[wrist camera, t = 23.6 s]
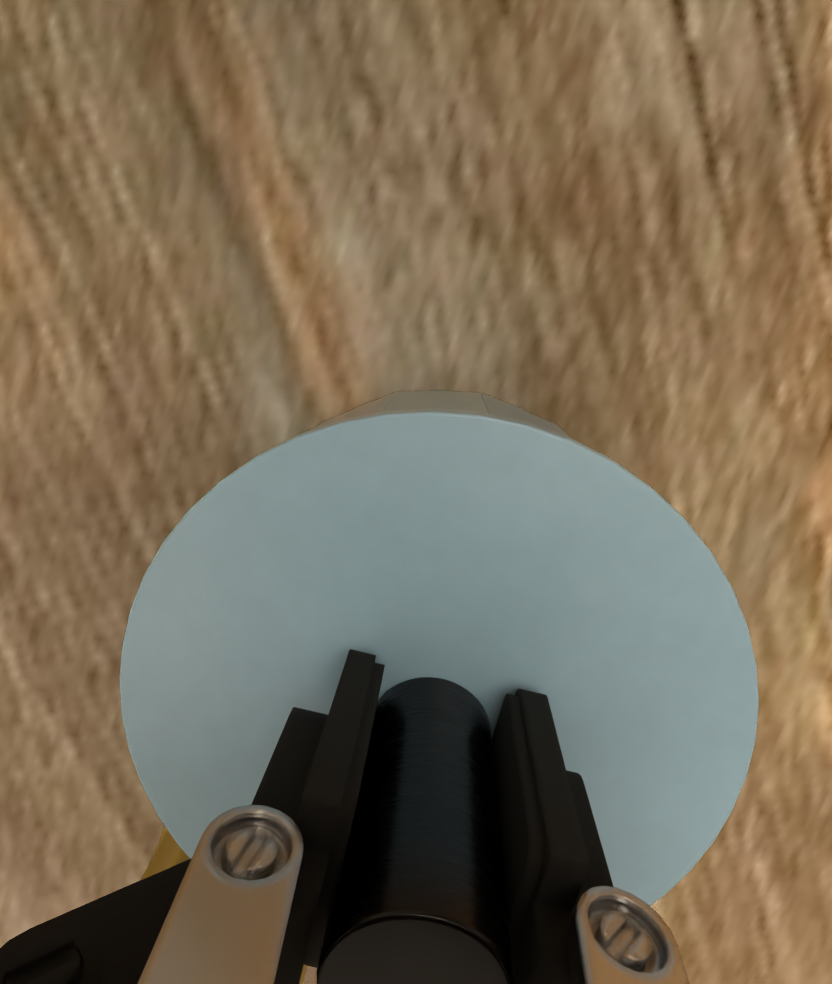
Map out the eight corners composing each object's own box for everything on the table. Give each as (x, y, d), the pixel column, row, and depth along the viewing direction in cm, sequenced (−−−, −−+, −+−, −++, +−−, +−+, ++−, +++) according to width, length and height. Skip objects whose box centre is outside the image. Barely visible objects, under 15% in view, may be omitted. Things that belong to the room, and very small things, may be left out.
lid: (249, 296, 11) (28, 265, 5) (858, 557, 12) (1253, 784, 6) (83, 810, 15) (-166, 1136, 9) (566, 993, 15) (636, 1413, 9)
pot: (326, 324, 17) (253, 324, 11) (703, 486, 18) (839, 574, 11) (202, 664, 20) (92, 815, 14) (527, 793, 21) (559, 992, 14)
